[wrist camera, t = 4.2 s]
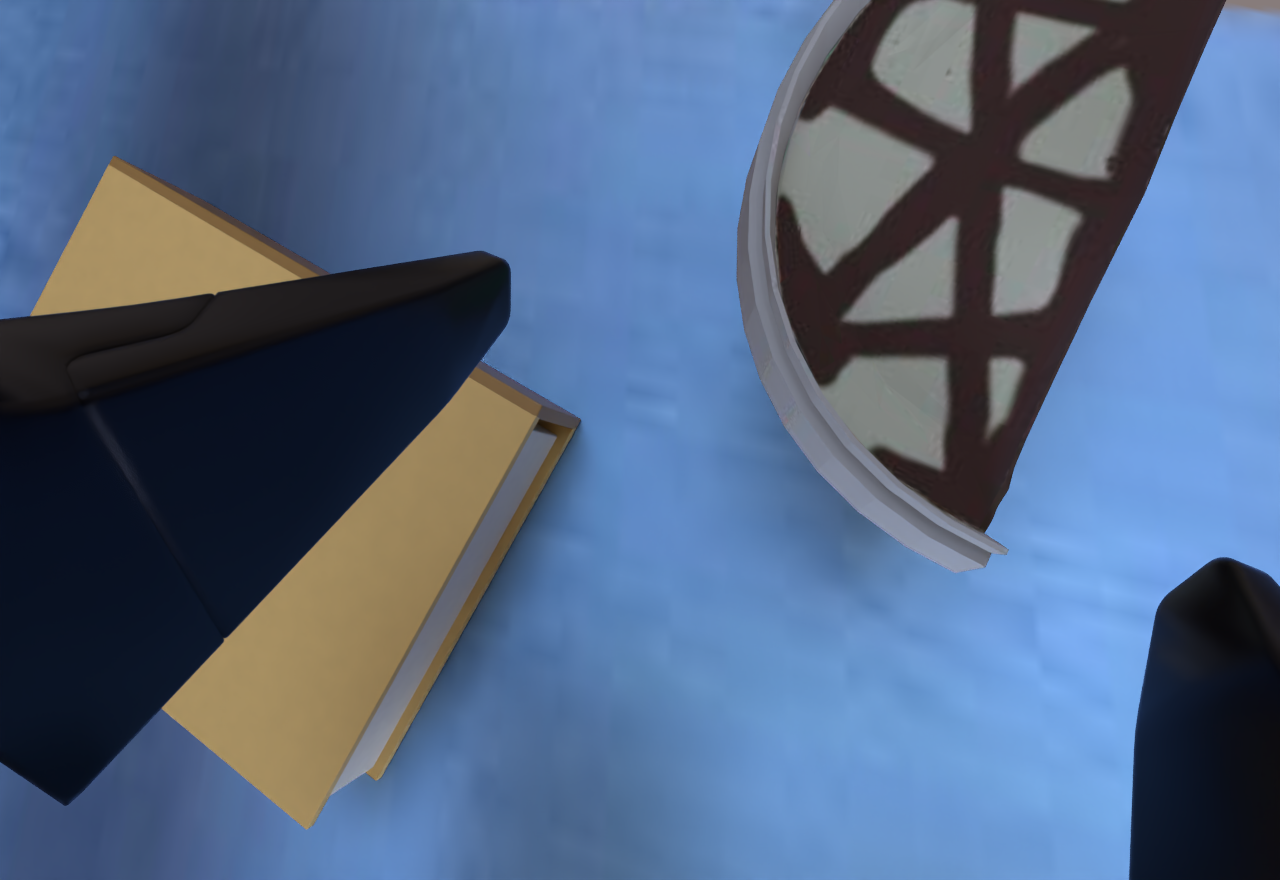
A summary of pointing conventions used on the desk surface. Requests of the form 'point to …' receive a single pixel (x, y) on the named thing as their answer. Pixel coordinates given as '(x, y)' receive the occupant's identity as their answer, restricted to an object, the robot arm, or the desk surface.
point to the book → (354, 546)
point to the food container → (947, 234)
